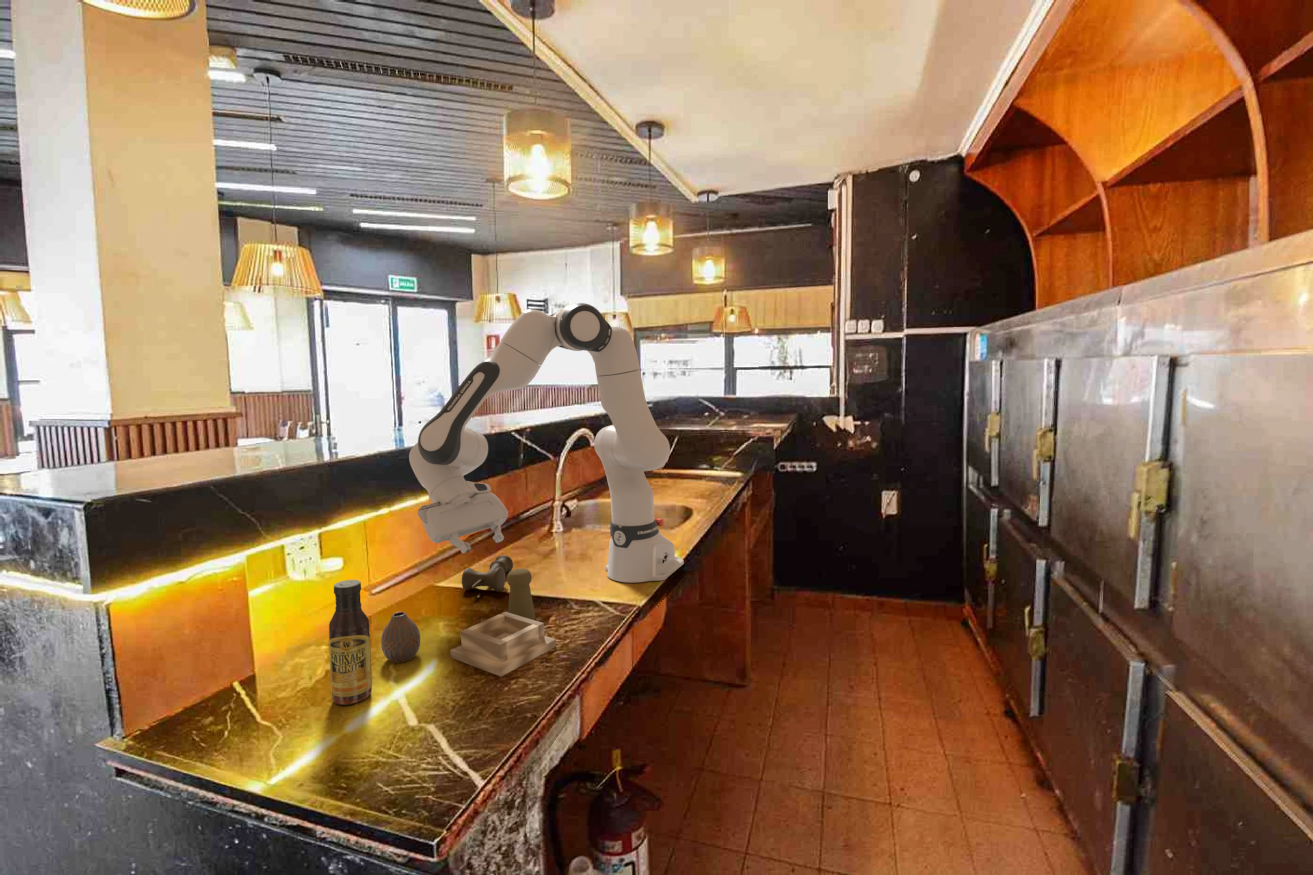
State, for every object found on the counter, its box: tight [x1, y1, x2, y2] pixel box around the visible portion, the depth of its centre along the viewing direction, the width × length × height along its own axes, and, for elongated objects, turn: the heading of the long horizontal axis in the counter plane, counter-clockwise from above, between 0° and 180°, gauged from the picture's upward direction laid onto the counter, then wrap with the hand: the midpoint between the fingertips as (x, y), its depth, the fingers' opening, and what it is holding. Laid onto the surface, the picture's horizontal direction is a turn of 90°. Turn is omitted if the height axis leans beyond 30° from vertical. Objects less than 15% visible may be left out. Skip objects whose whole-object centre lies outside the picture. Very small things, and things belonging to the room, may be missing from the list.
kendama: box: [461, 554, 514, 593], centre depth 158 cm, size 6×10×20 cm
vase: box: [380, 611, 421, 664], centre depth 119 cm, size 7×7×9 cm
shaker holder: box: [449, 611, 557, 678], centre depth 120 cm, size 14×14×5 cm
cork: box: [506, 568, 536, 621], centre depth 136 cm, size 6×6×11 cm
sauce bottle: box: [328, 579, 373, 706], centre depth 104 cm, size 6×6×20 cm
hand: (484, 545), depth 141 cm, fingers open, 8 cm apart
